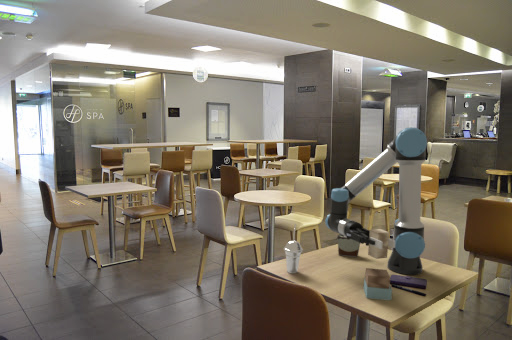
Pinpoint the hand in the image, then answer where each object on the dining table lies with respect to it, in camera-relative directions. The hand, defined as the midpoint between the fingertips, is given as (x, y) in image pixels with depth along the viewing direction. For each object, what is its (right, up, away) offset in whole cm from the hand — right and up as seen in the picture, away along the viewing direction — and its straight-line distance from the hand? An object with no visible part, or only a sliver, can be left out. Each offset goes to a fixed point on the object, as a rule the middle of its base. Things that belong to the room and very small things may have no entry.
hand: (387, 244), depth 148 cm
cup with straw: (-33, -17, +28) cm, 46 cm away
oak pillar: (-2, -5, +6) cm, 8 cm away
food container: (-2, -15, +55) cm, 57 cm away
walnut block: (-2, -16, +6) cm, 17 cm away
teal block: (-2, -21, +7) cm, 22 cm away
